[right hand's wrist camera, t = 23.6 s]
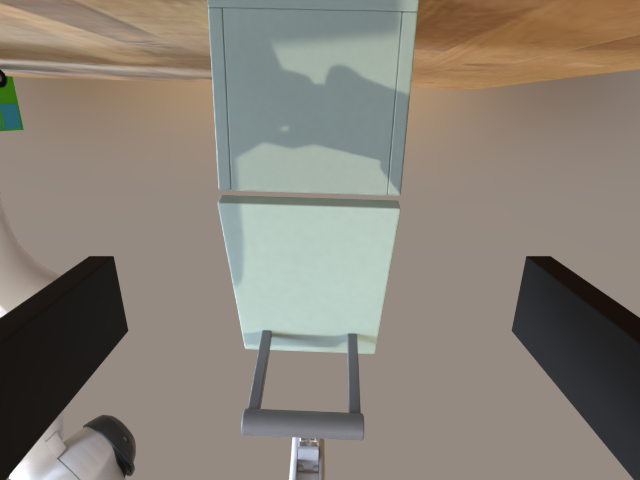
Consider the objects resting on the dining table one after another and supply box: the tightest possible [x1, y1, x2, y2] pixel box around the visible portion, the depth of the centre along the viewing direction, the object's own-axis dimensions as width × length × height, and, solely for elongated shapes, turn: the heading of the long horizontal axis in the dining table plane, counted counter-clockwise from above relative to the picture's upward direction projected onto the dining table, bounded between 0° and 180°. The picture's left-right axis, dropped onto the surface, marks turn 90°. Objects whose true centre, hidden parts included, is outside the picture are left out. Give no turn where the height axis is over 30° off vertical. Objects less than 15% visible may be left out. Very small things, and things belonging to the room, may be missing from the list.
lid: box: [218, 195, 400, 440], centre depth 23 cm, size 14×10×8 cm
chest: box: [207, 0, 419, 195], centre depth 26 cm, size 13×10×10 cm
